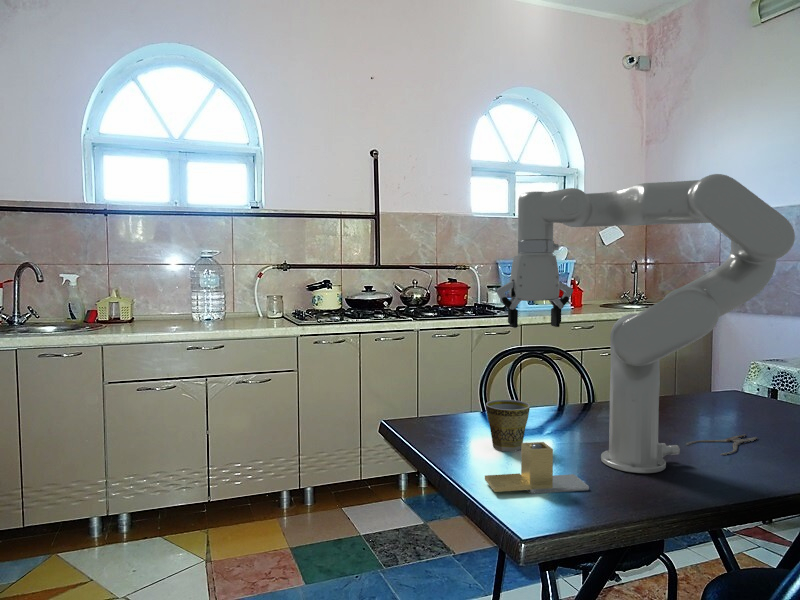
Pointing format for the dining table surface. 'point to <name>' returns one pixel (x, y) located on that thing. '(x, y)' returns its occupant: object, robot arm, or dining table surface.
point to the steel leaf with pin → (560, 482)
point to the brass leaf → (527, 470)
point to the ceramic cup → (507, 423)
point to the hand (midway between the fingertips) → (534, 326)
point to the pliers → (733, 439)
